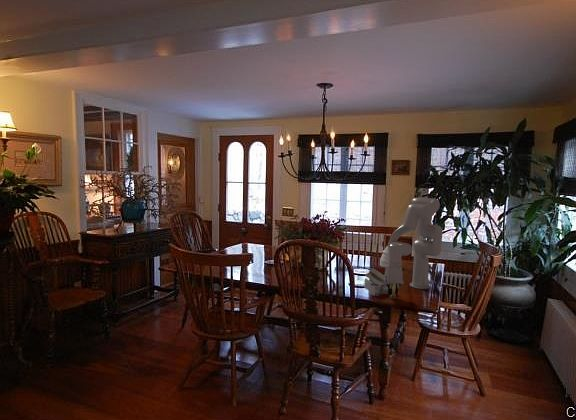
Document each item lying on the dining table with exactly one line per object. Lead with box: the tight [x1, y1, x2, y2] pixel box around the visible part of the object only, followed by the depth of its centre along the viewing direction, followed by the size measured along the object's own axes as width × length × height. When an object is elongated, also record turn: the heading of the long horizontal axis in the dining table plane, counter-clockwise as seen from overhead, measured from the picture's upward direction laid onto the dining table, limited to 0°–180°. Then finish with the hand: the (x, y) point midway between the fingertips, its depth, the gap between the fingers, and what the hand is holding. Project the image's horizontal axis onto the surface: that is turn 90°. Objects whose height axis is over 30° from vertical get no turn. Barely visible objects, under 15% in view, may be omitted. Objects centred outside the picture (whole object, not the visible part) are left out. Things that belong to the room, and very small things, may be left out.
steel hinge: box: [364, 277, 389, 297], centre depth 235 cm, size 17×17×6 cm
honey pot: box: [379, 242, 389, 268], centre depth 301 cm, size 13×13×18 cm
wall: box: [364, 267, 388, 284], centre depth 250 cm, size 16×9×15 cm
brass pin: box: [389, 284, 396, 299], centre depth 223 cm, size 3×3×10 cm
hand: (392, 294), depth 223 cm, fingers closed on brass pin, 3 cm apart
